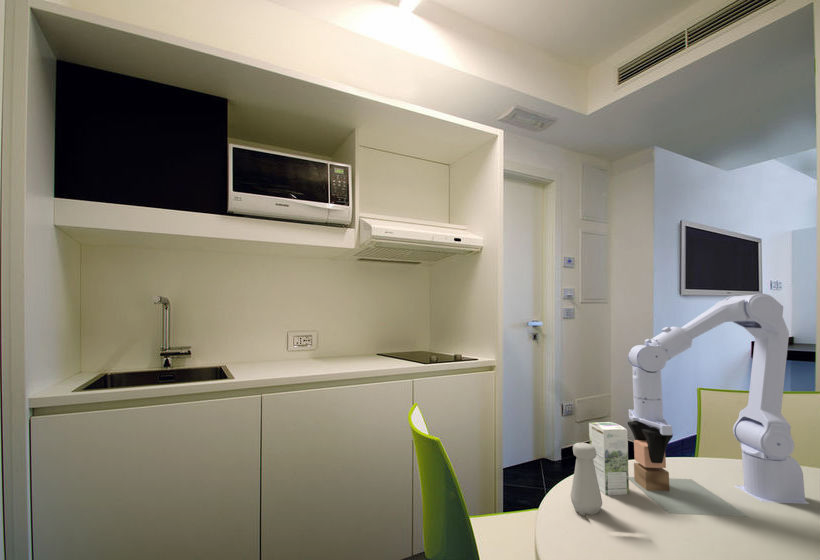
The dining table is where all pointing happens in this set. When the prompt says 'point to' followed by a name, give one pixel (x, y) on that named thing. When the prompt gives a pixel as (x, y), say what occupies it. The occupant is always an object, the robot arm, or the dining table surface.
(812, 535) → the dining table surface
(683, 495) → the slate board
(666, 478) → the walnut block
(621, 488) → the syrup box
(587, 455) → the salt shaker
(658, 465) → the terracotta cube
